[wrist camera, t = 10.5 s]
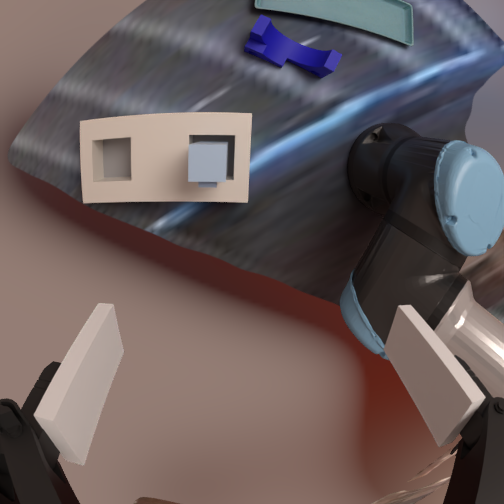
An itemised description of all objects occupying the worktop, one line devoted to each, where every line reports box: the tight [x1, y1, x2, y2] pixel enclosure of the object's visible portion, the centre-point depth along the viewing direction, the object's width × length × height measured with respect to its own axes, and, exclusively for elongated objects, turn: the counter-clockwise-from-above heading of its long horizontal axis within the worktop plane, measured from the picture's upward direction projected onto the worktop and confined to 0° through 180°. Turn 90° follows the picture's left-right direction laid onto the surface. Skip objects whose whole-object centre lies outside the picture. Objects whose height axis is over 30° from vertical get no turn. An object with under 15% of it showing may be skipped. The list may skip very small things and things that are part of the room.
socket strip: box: [80, 112, 252, 203], centre depth 40 cm, size 24×12×5 cm, turn 87°
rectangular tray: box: [255, 0, 413, 46], centre depth 34 cm, size 26×9×2 cm, turn 85°
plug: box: [188, 141, 228, 188], centre depth 37 cm, size 4×5×12 cm
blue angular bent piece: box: [244, 15, 342, 78], centre depth 35 cm, size 12×4×6 cm, turn 65°
